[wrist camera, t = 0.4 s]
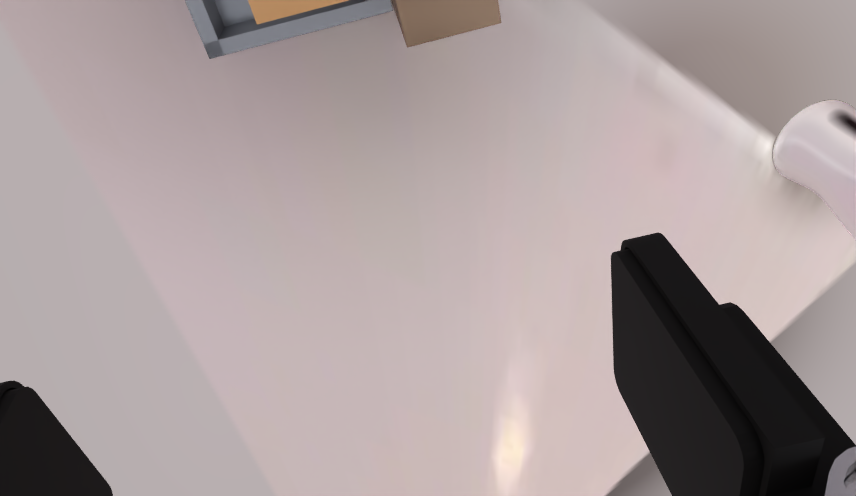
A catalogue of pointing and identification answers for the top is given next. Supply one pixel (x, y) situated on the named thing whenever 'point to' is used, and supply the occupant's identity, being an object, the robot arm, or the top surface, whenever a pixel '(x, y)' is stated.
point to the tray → (237, 30)
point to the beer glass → (822, 156)
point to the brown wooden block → (443, 18)
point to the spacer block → (285, 8)
